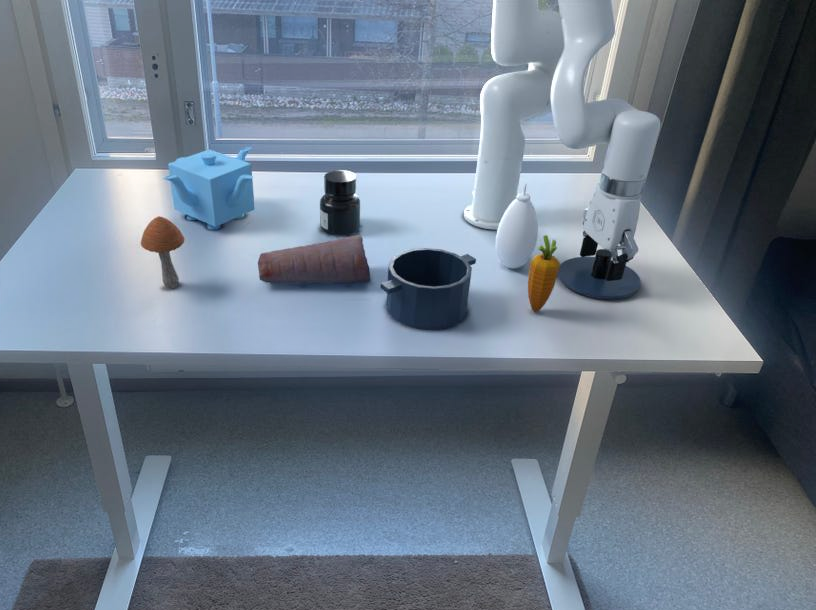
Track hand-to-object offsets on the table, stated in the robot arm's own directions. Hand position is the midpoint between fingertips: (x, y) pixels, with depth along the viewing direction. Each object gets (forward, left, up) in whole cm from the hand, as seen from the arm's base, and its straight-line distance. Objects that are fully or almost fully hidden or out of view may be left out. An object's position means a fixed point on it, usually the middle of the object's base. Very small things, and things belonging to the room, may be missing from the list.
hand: (599, 267), depth 137 cm
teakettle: (-45, -70, -3) cm, 83 cm away
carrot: (+8, -17, -3) cm, 19 cm away
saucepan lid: (0, 0, -2) cm, 2 cm away
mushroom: (-16, -82, -3) cm, 84 cm away
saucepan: (+2, -36, -3) cm, 36 cm away
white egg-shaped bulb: (-9, -14, -3) cm, 17 cm away
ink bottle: (-34, -44, -3) cm, 56 cm away
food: (-13, -54, -3) cm, 56 cm away
